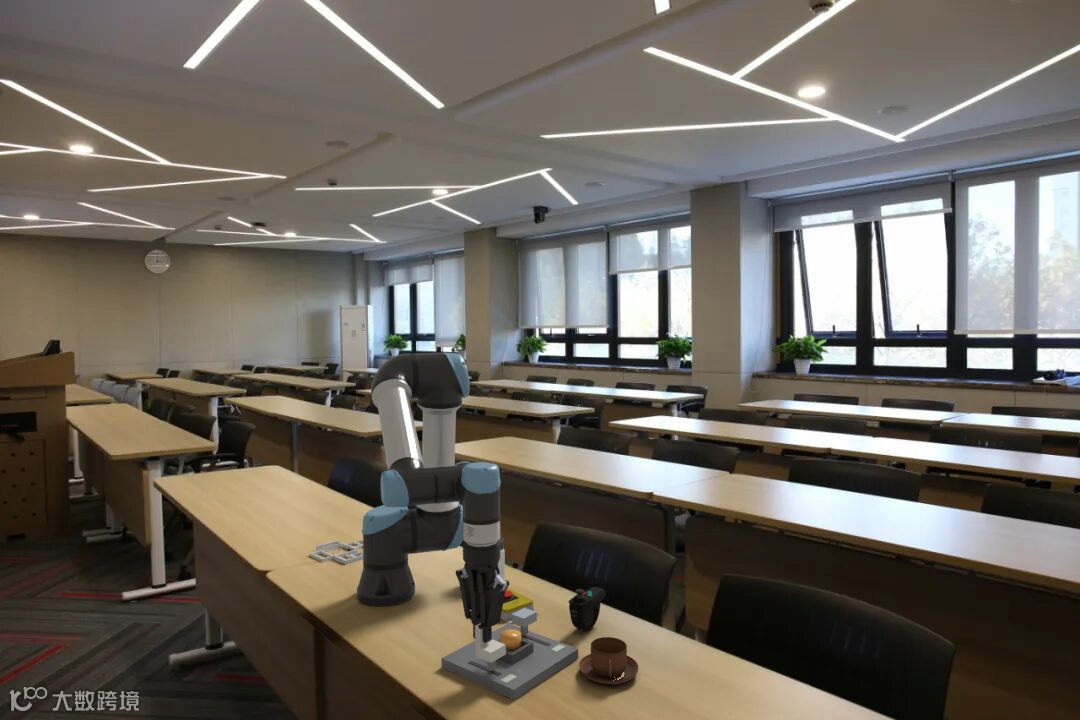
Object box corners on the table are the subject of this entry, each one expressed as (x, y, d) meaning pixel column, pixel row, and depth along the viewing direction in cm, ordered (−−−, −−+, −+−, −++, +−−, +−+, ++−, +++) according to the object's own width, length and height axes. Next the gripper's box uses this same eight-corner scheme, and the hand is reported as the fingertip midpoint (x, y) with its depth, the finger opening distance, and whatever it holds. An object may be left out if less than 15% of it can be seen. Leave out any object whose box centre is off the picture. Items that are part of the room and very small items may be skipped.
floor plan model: (286, 560, 210) (285, 553, 210) (357, 541, 228) (357, 535, 228) (317, 575, 197) (316, 568, 197) (389, 553, 215) (389, 547, 215)
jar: (468, 585, 187) (468, 542, 187) (480, 574, 195) (479, 533, 195) (499, 588, 185) (499, 545, 184) (509, 578, 192) (509, 536, 192)
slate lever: (511, 634, 151) (511, 614, 151) (524, 628, 155) (524, 607, 154) (524, 639, 149) (523, 618, 149) (536, 632, 152) (536, 611, 152)
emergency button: (504, 581, 180) (541, 598, 168) (504, 597, 180) (541, 615, 168) (475, 590, 174) (511, 608, 162) (475, 607, 174) (511, 626, 162)
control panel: (441, 667, 142) (441, 648, 142) (508, 632, 158) (508, 615, 158) (514, 700, 129) (513, 679, 129) (578, 657, 146) (578, 639, 146)
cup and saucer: (648, 684, 135) (648, 654, 135) (591, 694, 132) (591, 663, 131) (624, 657, 147) (624, 628, 146) (571, 665, 143) (571, 636, 143)
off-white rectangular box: (477, 670, 136) (477, 647, 135) (492, 662, 139) (492, 639, 139) (491, 676, 133) (490, 652, 133) (505, 667, 137) (505, 644, 137)
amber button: (495, 645, 143) (495, 634, 143) (509, 638, 147) (509, 627, 147) (511, 652, 141) (511, 640, 140) (525, 644, 144) (525, 633, 144)
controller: (565, 634, 157) (565, 592, 156) (592, 615, 167) (592, 575, 167) (581, 639, 154) (581, 596, 154) (608, 620, 165) (608, 579, 164)
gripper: (445, 539, 138) (446, 653, 139) (492, 552, 130) (493, 673, 131) (471, 530, 144) (472, 640, 145) (518, 542, 135) (519, 658, 137)
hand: (482, 655), depth 138 cm, fingers closed
